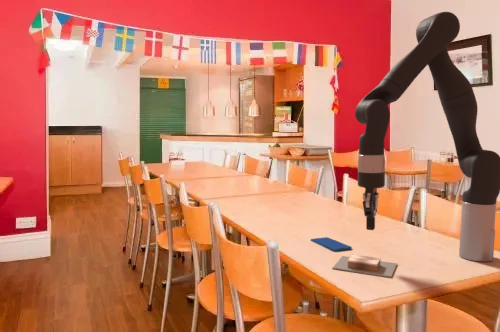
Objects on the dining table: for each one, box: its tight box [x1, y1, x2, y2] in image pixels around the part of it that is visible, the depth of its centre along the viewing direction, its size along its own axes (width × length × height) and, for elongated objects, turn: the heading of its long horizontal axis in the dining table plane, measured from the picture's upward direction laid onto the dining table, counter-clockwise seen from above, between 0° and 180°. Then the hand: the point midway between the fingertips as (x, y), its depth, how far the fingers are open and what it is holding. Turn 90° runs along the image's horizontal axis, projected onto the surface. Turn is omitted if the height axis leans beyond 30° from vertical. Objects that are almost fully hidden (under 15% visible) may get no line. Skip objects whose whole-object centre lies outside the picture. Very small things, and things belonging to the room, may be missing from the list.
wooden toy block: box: [348, 254, 382, 272], centre depth 128 cm, size 8×2×6 cm
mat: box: [332, 255, 398, 278], centre depth 129 cm, size 16×12×1 cm
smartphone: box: [310, 237, 352, 252], centre depth 151 cm, size 7×1×15 cm
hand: (370, 229), depth 130 cm, fingers closed
